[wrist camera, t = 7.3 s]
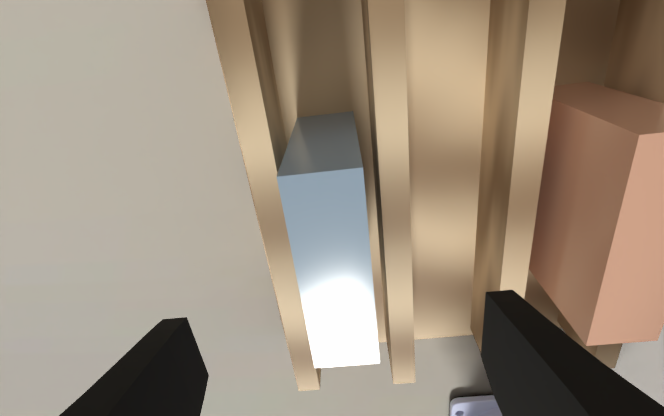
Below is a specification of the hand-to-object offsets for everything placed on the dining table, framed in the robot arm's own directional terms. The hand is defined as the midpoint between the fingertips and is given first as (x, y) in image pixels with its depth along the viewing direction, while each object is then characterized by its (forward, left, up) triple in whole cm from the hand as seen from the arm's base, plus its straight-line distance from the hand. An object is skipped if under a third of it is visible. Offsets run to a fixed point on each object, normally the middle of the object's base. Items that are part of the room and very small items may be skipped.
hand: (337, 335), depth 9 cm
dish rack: (0, -4, -9) cm, 10 cm away
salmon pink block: (0, -9, -8) cm, 12 cm away
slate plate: (0, 0, -8) cm, 8 cm away
